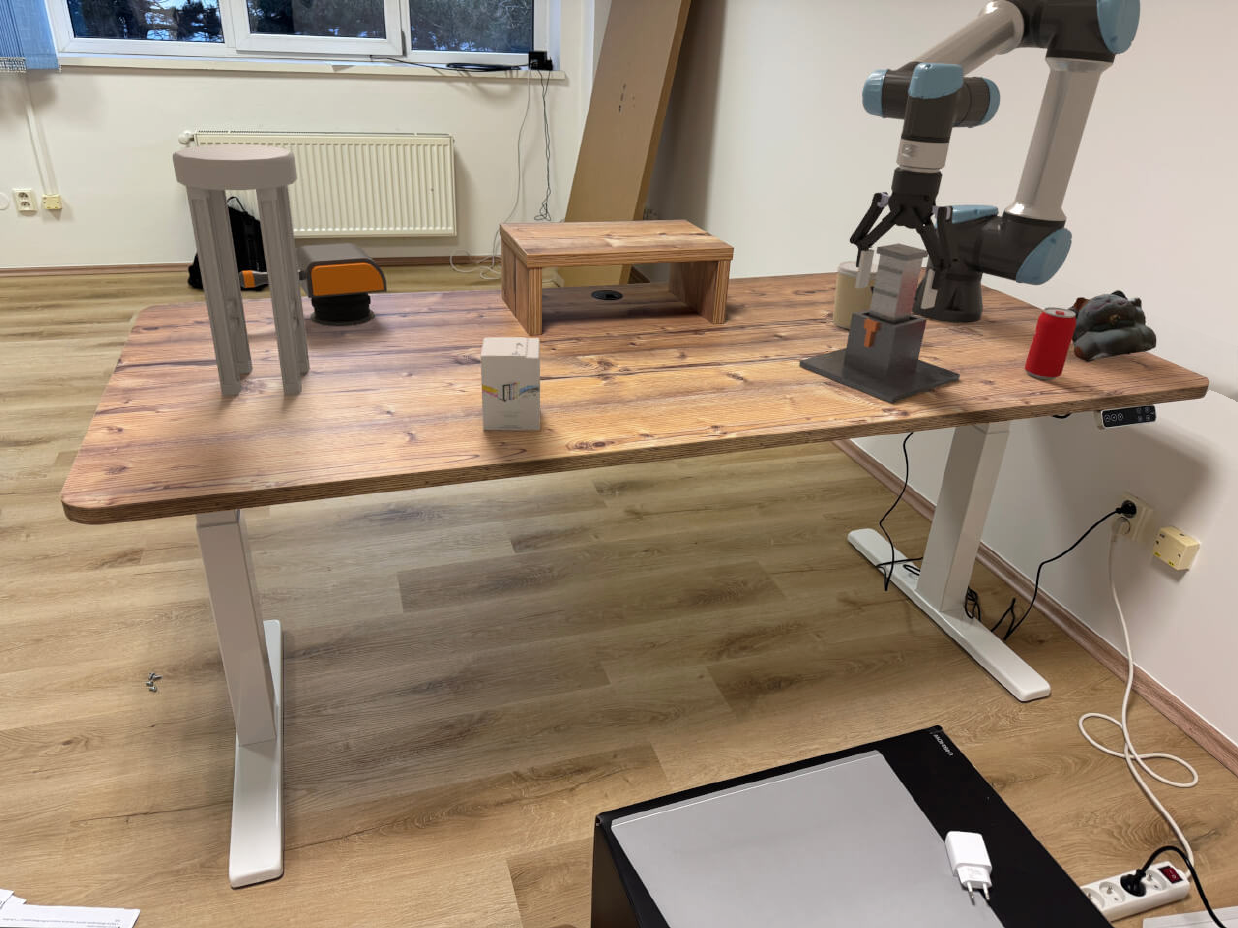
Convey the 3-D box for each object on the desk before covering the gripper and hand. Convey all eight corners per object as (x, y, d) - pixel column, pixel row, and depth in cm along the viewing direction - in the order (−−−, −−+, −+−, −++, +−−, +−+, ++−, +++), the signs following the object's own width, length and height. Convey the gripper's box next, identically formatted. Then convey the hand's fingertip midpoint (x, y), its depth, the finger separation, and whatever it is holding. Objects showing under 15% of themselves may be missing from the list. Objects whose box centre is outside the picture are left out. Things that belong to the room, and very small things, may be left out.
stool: (324, 363, 147) (299, 145, 131) (311, 399, 134) (282, 161, 118) (227, 364, 144) (190, 142, 128) (204, 401, 131) (159, 158, 115)
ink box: (484, 407, 134) (482, 335, 129) (539, 408, 135) (540, 336, 130) (481, 431, 127) (479, 355, 121) (539, 431, 127) (540, 356, 122)
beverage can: (1058, 372, 161) (1077, 309, 156) (1061, 383, 156) (1081, 319, 150) (1022, 366, 163) (1039, 304, 157) (1024, 377, 158) (1042, 313, 152)
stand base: (867, 346, 169) (877, 293, 164) (958, 379, 155) (972, 323, 150) (799, 365, 157) (807, 309, 152) (891, 403, 144) (903, 343, 139)
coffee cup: (875, 333, 176) (886, 274, 171) (828, 328, 178) (838, 270, 172) (872, 319, 185) (883, 263, 179) (828, 314, 186) (837, 259, 181)
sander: (241, 314, 167) (231, 248, 162) (372, 302, 178) (367, 240, 172) (251, 338, 156) (241, 268, 150) (390, 324, 167) (385, 258, 161)
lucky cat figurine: (1072, 363, 166) (1065, 290, 166) (1065, 368, 177) (1058, 300, 177) (1163, 352, 160) (1156, 277, 161) (1149, 358, 172) (1142, 288, 172)
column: (876, 358, 159) (898, 243, 150) (903, 368, 155) (928, 251, 146) (855, 364, 156) (877, 247, 146) (883, 374, 152) (907, 255, 142)
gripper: (842, 158, 146) (822, 282, 156) (976, 182, 129) (944, 320, 139) (870, 156, 151) (849, 276, 160) (1002, 179, 134) (970, 313, 143)
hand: (893, 297), depth 150 cm, fingers open, 13 cm apart
